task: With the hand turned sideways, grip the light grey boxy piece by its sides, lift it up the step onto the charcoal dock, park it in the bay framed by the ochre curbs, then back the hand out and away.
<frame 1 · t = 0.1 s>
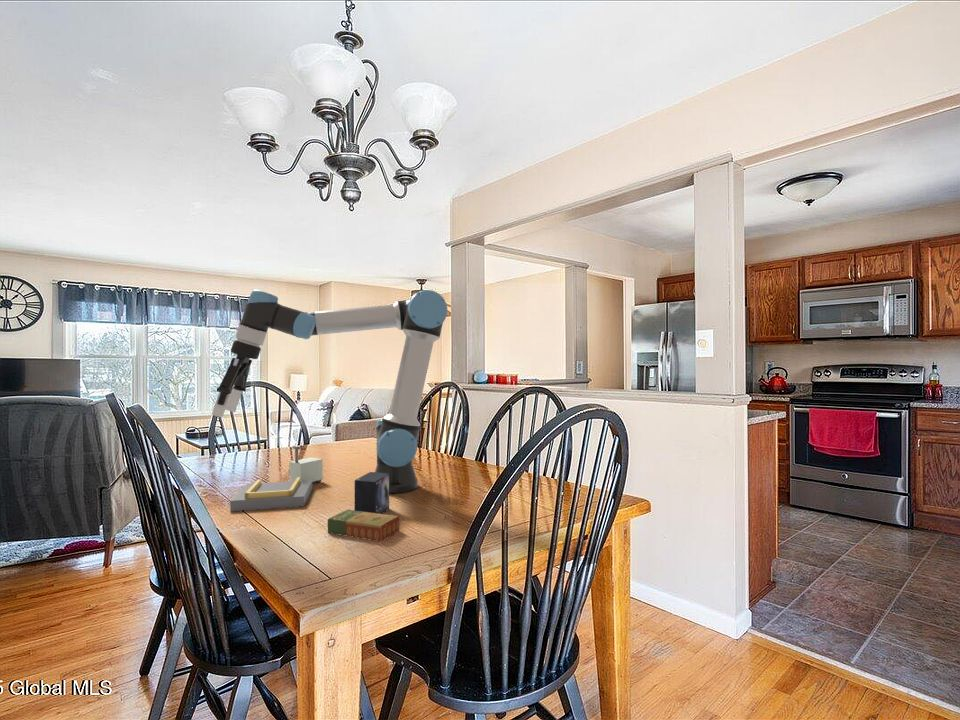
hand: (223, 413, 148), 28 cm above the table, tool tilted 20°, fingers open, 13 cm apart
dock: (274, 499, 159), on the table
carton: (363, 534, 129), on the table
small box: (372, 514, 144), on the table
light grey boxy piece: (306, 483, 178), on the table
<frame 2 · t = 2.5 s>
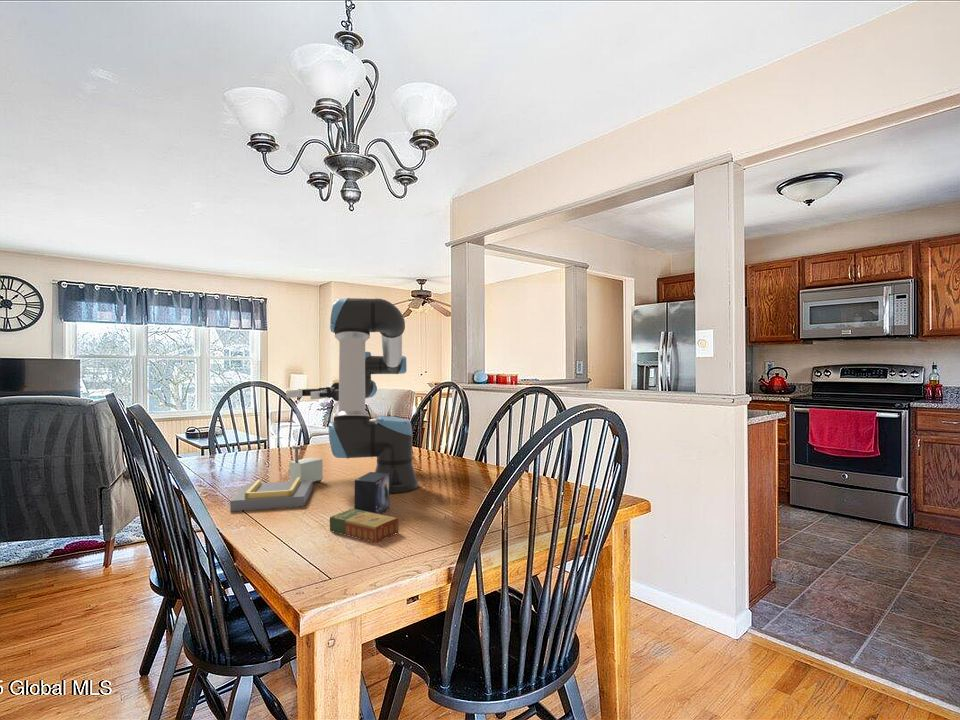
hand: (298, 394, 187), 30 cm above the table, tool horizontal, fingers open, 13 cm apart
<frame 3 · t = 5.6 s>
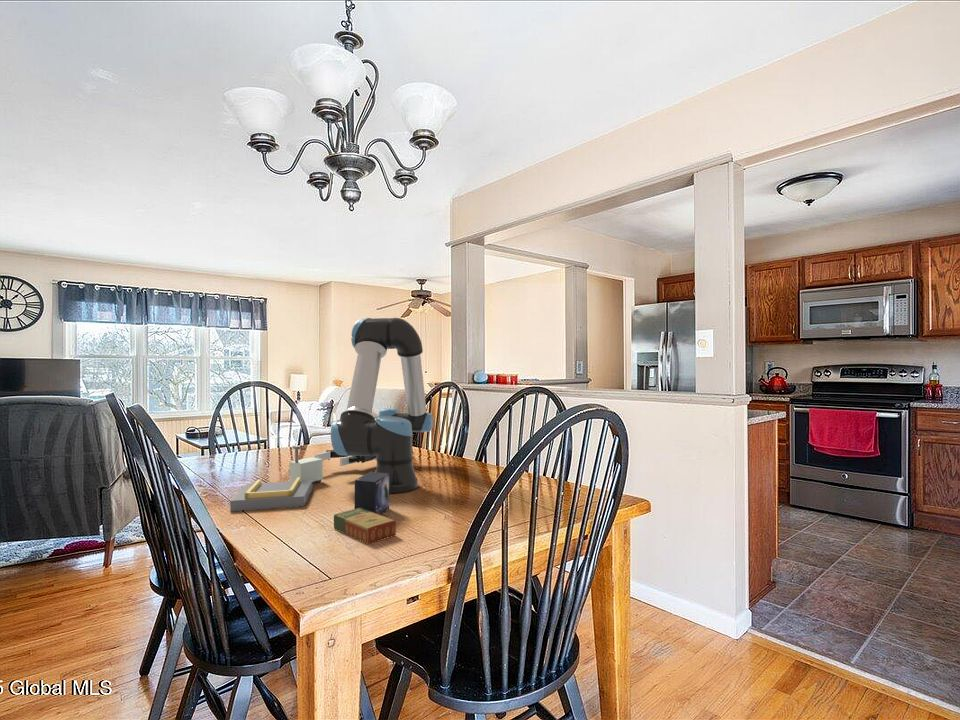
hand: (327, 460, 186), 6 cm above the table, tool horizontal, fingers open, 13 cm apart
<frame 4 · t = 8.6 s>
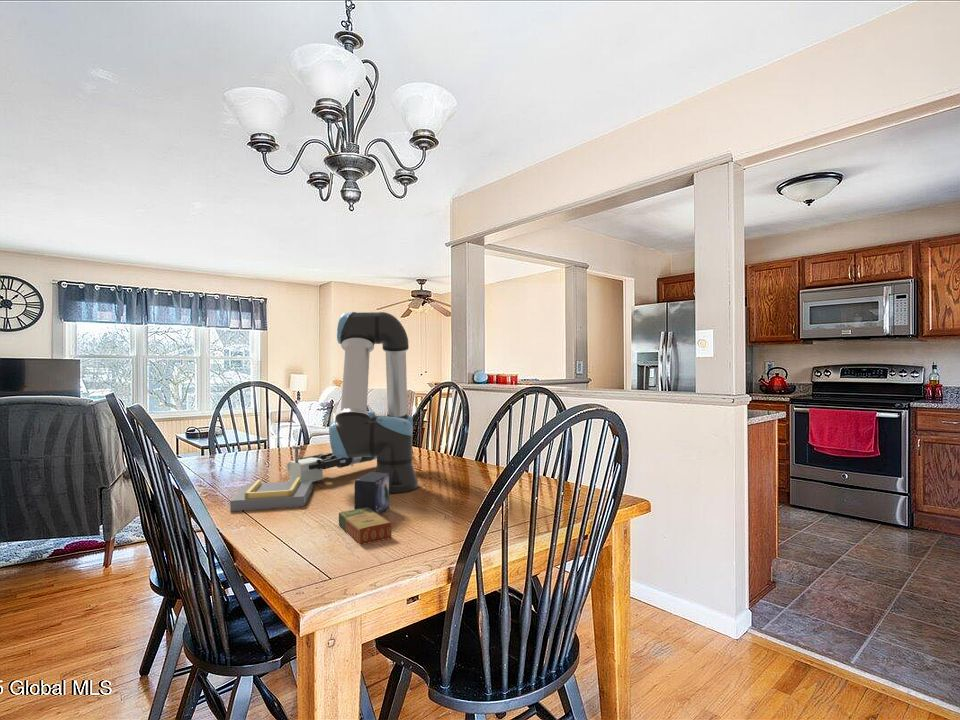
hand: (293, 467, 174), 7 cm above the table, tool horizontal, fingers closed on light grey boxy piece, 6 cm apart
light grey boxy piece: (306, 483, 178), on the table, touching gripper
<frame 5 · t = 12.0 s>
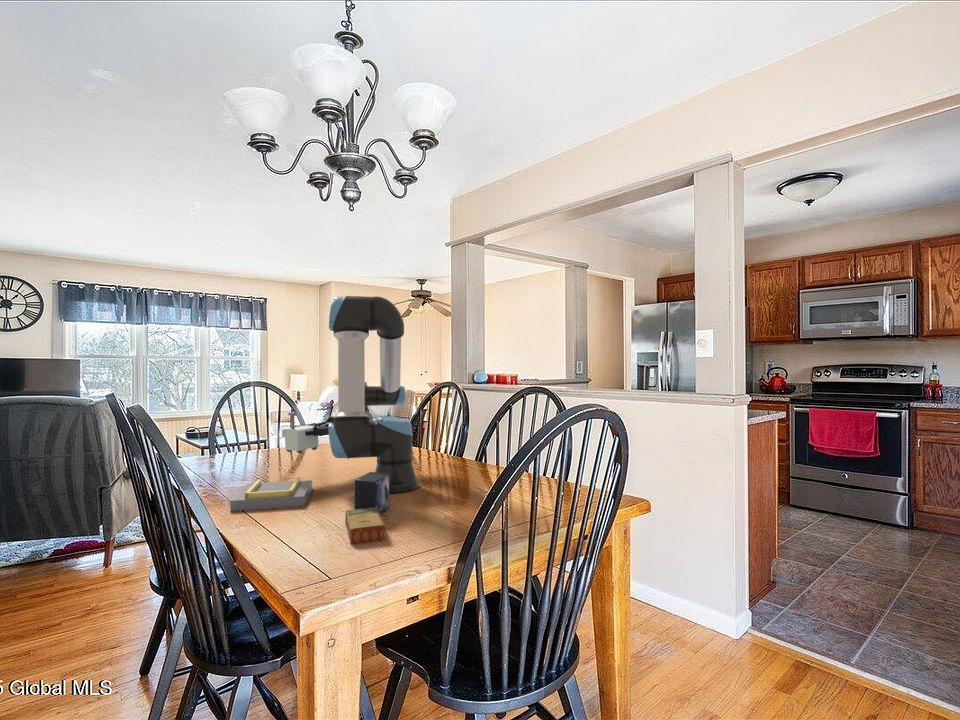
hand: (289, 434, 172), 18 cm above the table, tool horizontal, fingers closed on light grey boxy piece, 6 cm apart
light grey boxy piece: (302, 450, 177), point 12 cm above the table, touching gripper
when the fingers open (11 cm above the table, at t = 15.5 s): light grey boxy piece drops 1 cm, resting on dock.
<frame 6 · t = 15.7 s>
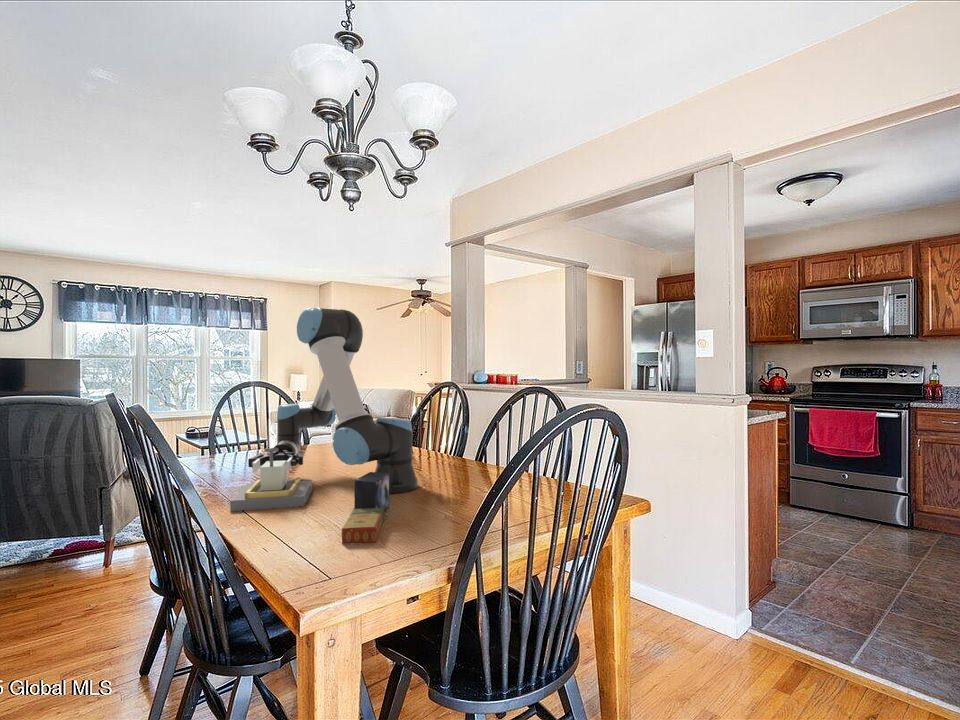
hand: (270, 466, 154), 11 cm above the table, tool horizontal, fingers open, 9 cm apart
light grey boxy piece: (274, 489, 159), point 3 cm above the table, touching dock
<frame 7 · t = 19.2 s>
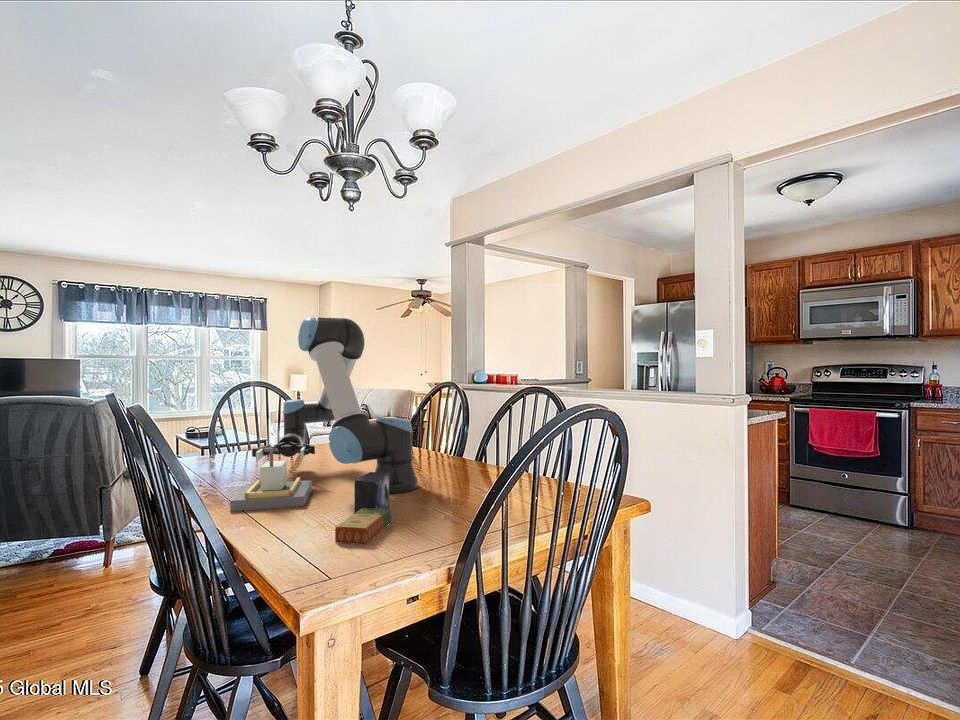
hand: (279, 455, 168), 12 cm above the table, tool horizontal, fingers open, 13 cm apart
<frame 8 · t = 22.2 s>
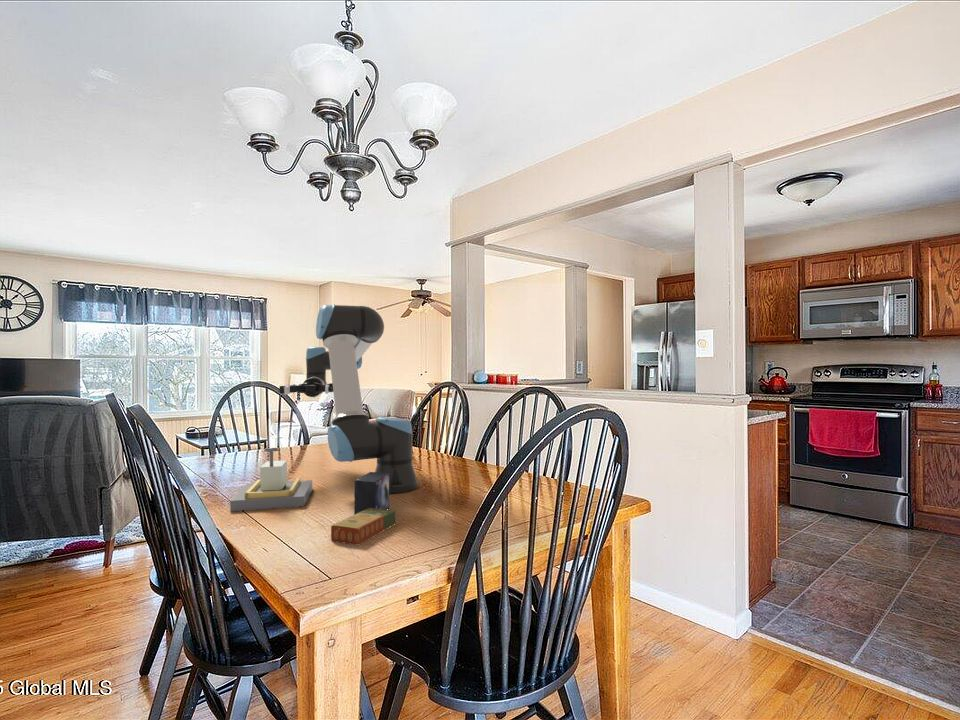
hand: (306, 390, 180), 32 cm above the table, tool horizontal, fingers open, 13 cm apart
at the end: light grey boxy piece inside the target area on the dock (0.1 cm from its centre), point 3.0 cm above the dock's base; light grey boxy piece tilted 0°; the gripper is holding nothing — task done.
